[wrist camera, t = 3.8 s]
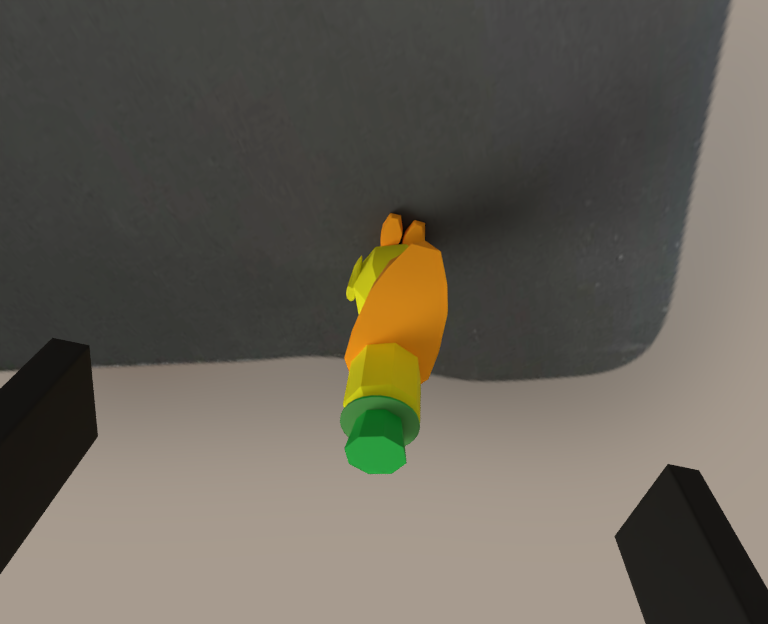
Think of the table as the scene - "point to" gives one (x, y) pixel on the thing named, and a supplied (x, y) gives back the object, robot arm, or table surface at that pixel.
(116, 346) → the table surface
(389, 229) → the toy figure
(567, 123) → the table surface
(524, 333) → the table surface
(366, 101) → the table surface
